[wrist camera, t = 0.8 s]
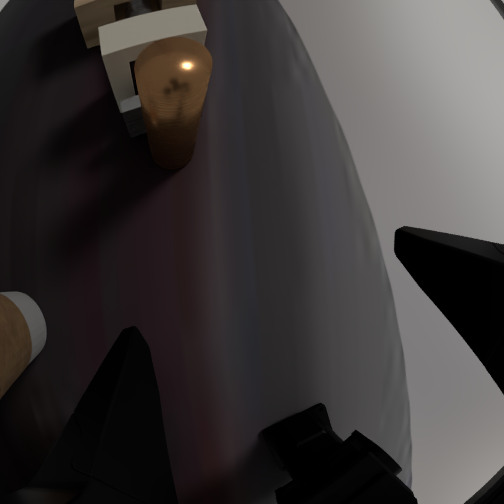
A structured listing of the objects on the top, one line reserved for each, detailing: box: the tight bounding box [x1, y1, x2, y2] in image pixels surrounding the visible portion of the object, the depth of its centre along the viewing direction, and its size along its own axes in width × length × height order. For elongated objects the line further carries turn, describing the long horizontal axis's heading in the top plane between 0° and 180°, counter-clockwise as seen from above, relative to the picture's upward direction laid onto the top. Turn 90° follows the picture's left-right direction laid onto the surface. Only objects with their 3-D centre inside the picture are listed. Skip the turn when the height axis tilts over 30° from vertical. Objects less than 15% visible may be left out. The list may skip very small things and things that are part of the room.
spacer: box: [98, 4, 207, 113], centre depth 18 cm, size 3×7×8 cm, turn 109°
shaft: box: [120, 0, 212, 170], centre depth 16 cm, size 23×6×12 cm, turn 19°
